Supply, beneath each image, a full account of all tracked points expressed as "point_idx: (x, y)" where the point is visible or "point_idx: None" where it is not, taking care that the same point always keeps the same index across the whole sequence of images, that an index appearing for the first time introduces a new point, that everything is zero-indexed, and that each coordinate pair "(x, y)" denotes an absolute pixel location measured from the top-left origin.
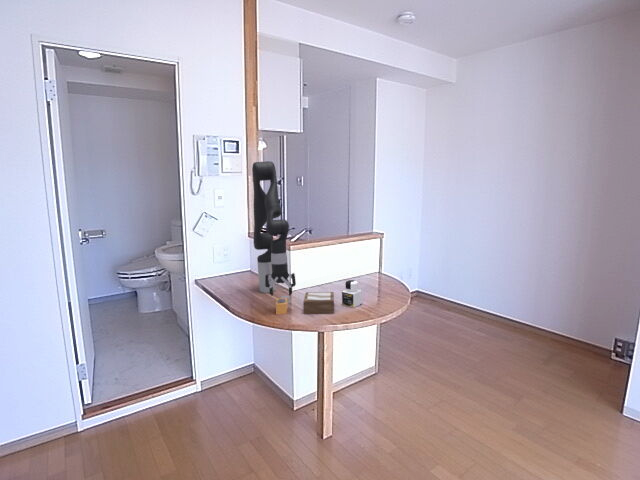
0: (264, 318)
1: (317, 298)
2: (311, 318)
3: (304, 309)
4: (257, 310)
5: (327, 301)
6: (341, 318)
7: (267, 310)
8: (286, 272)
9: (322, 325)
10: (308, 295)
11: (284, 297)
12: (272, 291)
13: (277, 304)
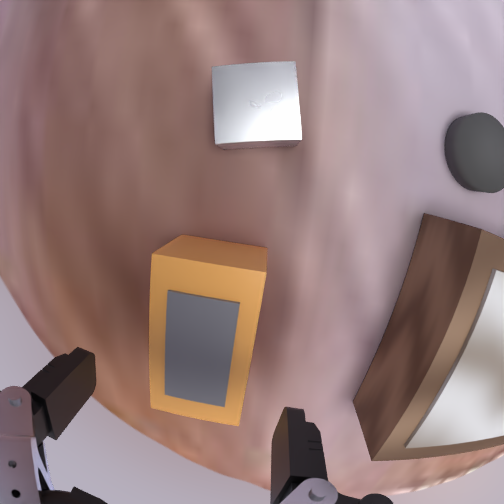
0: (114, 394)
1: (476, 422)
2: (366, 450)
3: (363, 421)
4: (54, 253)
5: (488, 447)
6: None
7: (110, 274)
8: None
9: None
10: (467, 352)
11: (248, 110)
12: (73, 416)
13: (165, 410)
